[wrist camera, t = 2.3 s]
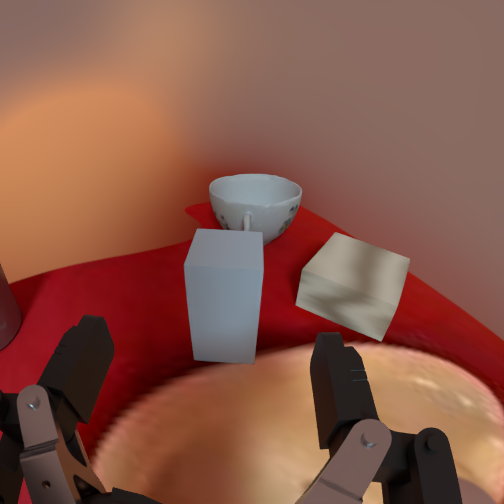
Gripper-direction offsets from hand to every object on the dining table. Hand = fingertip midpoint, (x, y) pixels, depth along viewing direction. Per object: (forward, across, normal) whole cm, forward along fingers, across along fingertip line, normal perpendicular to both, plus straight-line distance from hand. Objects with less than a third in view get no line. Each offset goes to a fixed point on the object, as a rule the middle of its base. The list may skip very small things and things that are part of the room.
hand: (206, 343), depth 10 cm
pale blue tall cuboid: (+12, 0, +12) cm, 17 cm away
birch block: (+19, -14, +13) cm, 26 cm away
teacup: (+30, -2, +12) cm, 33 cm away
